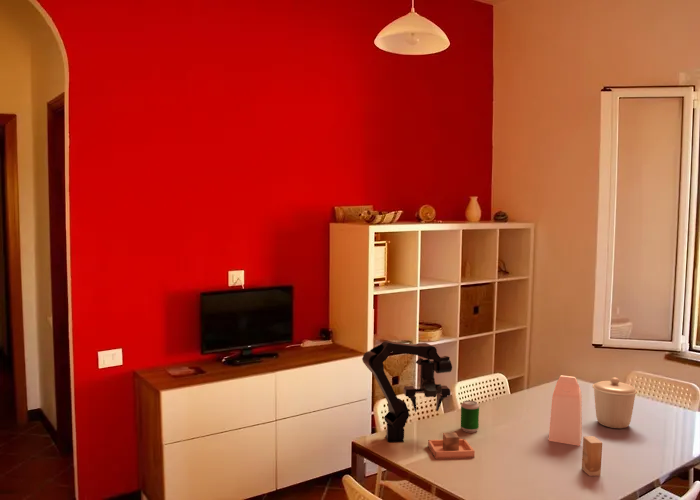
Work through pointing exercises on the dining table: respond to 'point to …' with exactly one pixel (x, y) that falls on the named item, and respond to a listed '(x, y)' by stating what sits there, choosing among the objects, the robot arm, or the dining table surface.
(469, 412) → the soda can
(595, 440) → the skincare box
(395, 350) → the robot arm
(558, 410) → the milk
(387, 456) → the dining table surface
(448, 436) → the walnut block
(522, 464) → the dining table surface
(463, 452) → the terracotta tray
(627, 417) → the canister
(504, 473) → the dining table surface
